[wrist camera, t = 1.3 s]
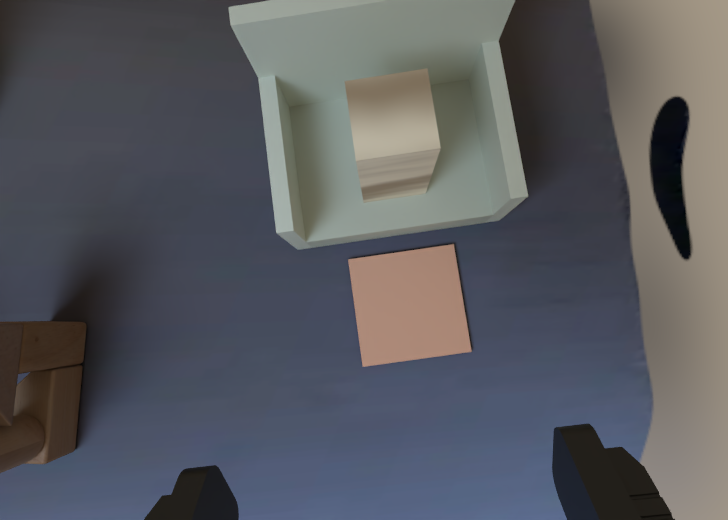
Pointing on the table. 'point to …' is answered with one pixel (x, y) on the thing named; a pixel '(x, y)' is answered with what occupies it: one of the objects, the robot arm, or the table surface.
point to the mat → (409, 305)
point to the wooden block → (39, 390)
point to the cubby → (332, 121)
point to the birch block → (393, 133)
